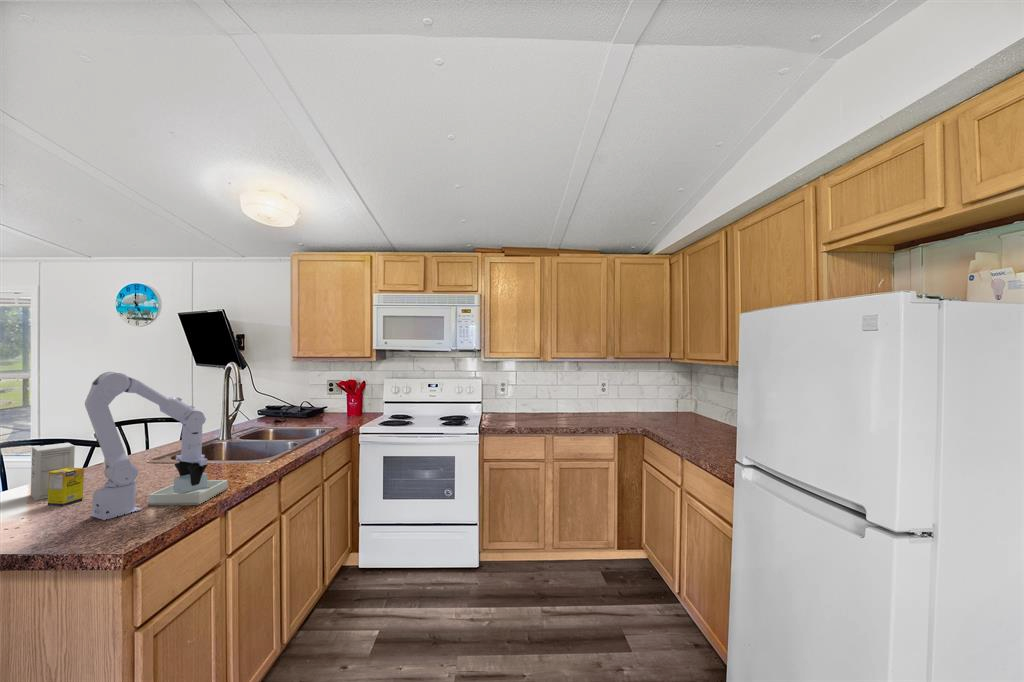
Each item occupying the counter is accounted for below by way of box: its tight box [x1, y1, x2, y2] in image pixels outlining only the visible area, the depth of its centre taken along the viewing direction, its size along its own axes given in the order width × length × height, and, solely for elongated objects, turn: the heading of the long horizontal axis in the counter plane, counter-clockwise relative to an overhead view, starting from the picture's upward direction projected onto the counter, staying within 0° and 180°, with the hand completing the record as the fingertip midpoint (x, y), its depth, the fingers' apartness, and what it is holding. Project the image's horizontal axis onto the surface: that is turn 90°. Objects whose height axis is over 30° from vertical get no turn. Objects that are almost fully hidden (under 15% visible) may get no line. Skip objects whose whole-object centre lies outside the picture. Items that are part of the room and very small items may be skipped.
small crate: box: [173, 472, 209, 494], centre depth 149 cm, size 8×5×5 cm, turn 156°
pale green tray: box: [147, 479, 229, 506], centre depth 149 cm, size 16×16×4 cm
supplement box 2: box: [30, 442, 76, 501], centre depth 150 cm, size 10×9×17 cm
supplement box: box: [47, 467, 85, 507], centre depth 142 cm, size 6×6×11 cm
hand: (190, 483), depth 149 cm, fingers closed on small crate, 5 cm apart
